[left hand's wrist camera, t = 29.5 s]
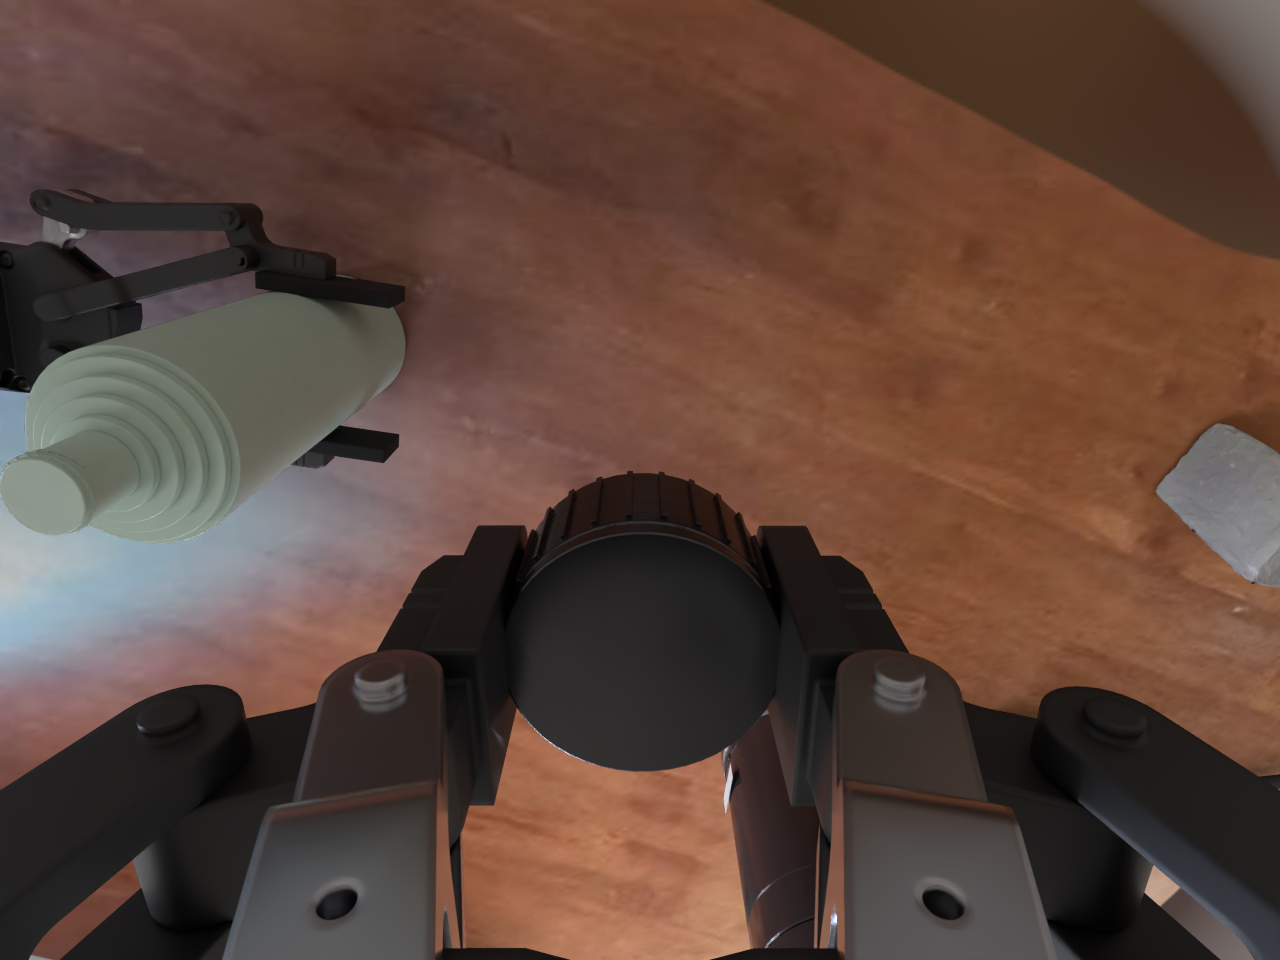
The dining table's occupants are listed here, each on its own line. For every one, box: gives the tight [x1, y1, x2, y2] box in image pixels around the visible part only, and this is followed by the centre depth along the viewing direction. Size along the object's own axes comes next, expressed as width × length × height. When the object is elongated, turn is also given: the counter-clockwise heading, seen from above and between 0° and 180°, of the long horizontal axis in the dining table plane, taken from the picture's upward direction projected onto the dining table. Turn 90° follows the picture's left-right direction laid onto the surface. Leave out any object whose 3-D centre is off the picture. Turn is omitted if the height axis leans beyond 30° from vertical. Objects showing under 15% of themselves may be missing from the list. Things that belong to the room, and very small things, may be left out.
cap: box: [504, 471, 780, 772], centre depth 11 cm, size 4×4×2 cm
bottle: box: [0, 275, 406, 543], centre depth 34 cm, size 8×8×24 cm
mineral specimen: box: [1156, 423, 1280, 587], centre depth 45 cm, size 7×9×8 cm
